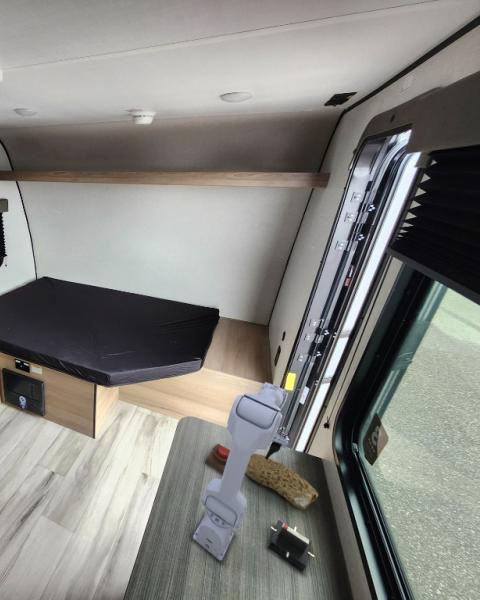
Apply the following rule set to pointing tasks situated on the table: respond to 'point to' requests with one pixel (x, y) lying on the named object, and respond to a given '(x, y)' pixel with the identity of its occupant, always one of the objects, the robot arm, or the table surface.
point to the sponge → (281, 480)
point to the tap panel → (289, 549)
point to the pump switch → (217, 460)
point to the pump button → (223, 452)
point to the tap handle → (294, 537)
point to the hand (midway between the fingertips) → (254, 450)
